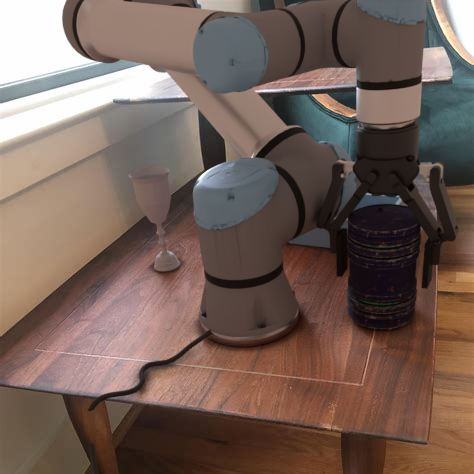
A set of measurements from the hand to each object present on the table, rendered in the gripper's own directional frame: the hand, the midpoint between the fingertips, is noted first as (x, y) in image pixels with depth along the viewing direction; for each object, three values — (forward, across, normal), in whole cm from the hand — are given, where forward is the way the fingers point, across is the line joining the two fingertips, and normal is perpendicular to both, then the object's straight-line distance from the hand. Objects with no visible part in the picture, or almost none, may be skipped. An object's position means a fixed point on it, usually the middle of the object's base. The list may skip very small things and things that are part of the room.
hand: (382, 278), depth 78 cm
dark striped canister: (+6, 0, 0) cm, 6 cm away
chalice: (+6, +42, -5) cm, 43 cm away
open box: (+6, +14, -27) cm, 31 cm away
